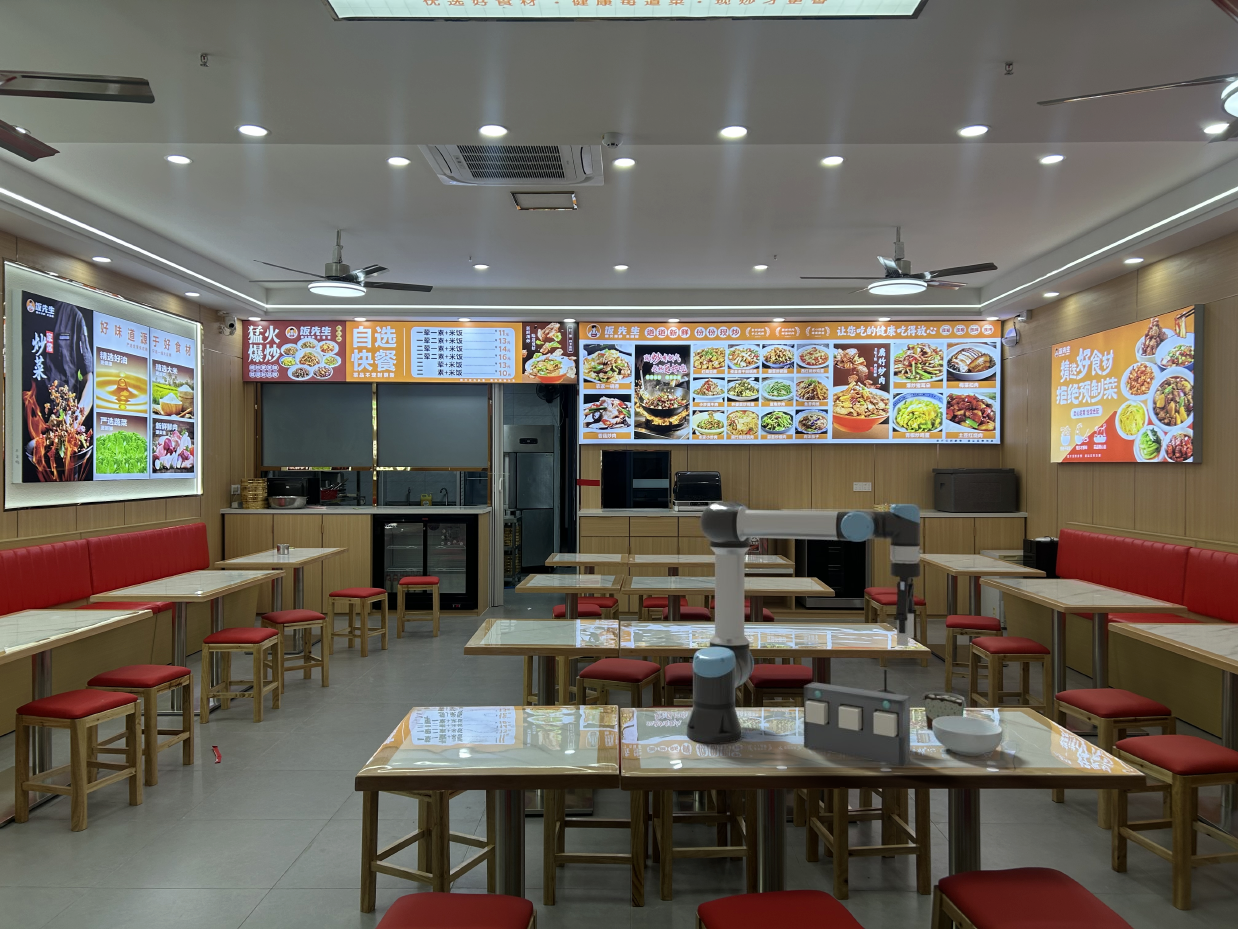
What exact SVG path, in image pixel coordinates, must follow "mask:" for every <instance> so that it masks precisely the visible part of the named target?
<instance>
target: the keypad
mask: <svg viewBox="0 0 1238 929" xmlns="http://www.w3.org/2000/svg"><path fill="white" fill-rule="evenodd" d="M811 699H813V700H820V701H826V702H829V722H827V723H826V724H824V725H823V724H817V723H812V722H806V702H807V701H809V700H811ZM844 704H845V705H851V706H857V707H863V728H861V729H860V730H858V731H857V730H852V729H846V728H840V727H839V707H841V706H842V705H844ZM878 710H883V711H889V712H895V713H899V733H898V734H897V735H896V736H894V737H891V736H886V735H880V734H874V713H875V712H876V711H878ZM803 748H806V749H807V748H808V749H813V750H818V751H824V752H829V753H833V754H839V755H843V756H849V757H855V758H858V759H863V760H864V759H865V760H869V761H874V762H879V763H884V764H890V765H895V766H901V767H904V766H905V765H906V764H908V763H909V762H910V760H911V696H910V695H905V694H904V695H903V694H900V695H897V694H891V693H884V692H877V691H875V690H869V689H863V688H856V687H855V688H854V687H850V686H849V687H848V686H843V685H835V684H828V683H822V682H821V683H820V682H814V681H812V682H810V683H808V684H806V685H804V686H803Z"/></svg>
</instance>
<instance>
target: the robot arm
mask: <svg viewBox="0 0 1238 929" xmlns="http://www.w3.org/2000/svg"><path fill="white" fill-rule="evenodd" d="M699 523H700V529H701V532H702V533H703V535H704V537H705V538H707V539H708V540H709V548H710V549H711V550H712V551H713V553H714V554H715V555H714V556H715V557H714V635H713V636H712V637H711V638H710V639H709V647H707V648H705V647H704V648H701V649H699V650H696V652H695V653H694V655H693V661H692V709H691V711H690V712H691V713H690V716H689V719H688V722H687V724H686V736H687V738H689V739H690V740H693V741H695V742H699V743H700V742H701V743H705V744H706V743H708V744H728V743H734V742H737V741H739V740H741V738H742V726H741V723H740V720H739V717H738V713H737V709H736V688H738V687H739V686H741V685H743V684H744V683H746V682H747V681H748V680H749V678H750V677H751V675H752V673H753V671H754V667H755V666H754V665H755V662H754V658H753V657H754V656H753V655H752V653H751V651H750V640H749V639H748V637H746V635H745V554H746V552H748V550H749V549H750V548H751V547H750V546H751V542H750V541H751V538H757V539H758V538H760V539H763V538H764V539H790V540H791V539H792V540H793V539H796V540H797V539H798V540H824V541H825V540H827V541H829V540H830V541H832V540H833V541H851V542H853V543H854V542H864V541H866V540H869V539H870V540H872V539H873V540H875V539H876V540H877V539H878V540H882V539H883V540H890V544H889V546H890V547H889V548H890V552H889V553H890V560H891V561H892V562H890V575H891V576H892V577H895V578H899V581H897V583H896V590H897V591H896V611H895V612H896V613H895V616H893V620H894V621H896V646H898V647H899V646H900V647H901V646H902V647H908V646H909V639H914V637H915V636H914V635H915V628H914V627H915V625H914V623H915V620H914V619H915V618H914V617H915V614H917V609H915V608H916V607H915V598H914V597H915V596H914V588H915V586H914V585H915V584H914V578H919V577H921V564H920V563H919V561H921V554H923V553H924V552H923V549H920V548H921V544H920V543H921V518H920V507H919V506H918V505H916V504H897V503H896V504H895V503H894V504H891V505H890V508H889V510H886V511H879V510H876V511H874V510H872V511H871V510H849V511H833V510H832V511H829V510H828V511H824V510H821V511H820V510H819V511H818V510H774V509H773V510H769V509H768V510H767V509H766V510H765V509H764V510H763V509H749V508H748V507H747V506H746V505H744V504H742V503H741V502H738V501H717V502H714V503H711V504H709V505H707V507H705V509H704V510H703V511H702V513H701V516H700V520H699Z"/></svg>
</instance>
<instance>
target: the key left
mask: <svg viewBox="0 0 1238 929" xmlns="http://www.w3.org/2000/svg"><path fill="white" fill-rule="evenodd" d="M806 722H812V723H817V724H823V725H824V724H826V723H827V722H829V702H826V701H820V700H813V699H811V700H809V701H807V702H806Z"/></svg>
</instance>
